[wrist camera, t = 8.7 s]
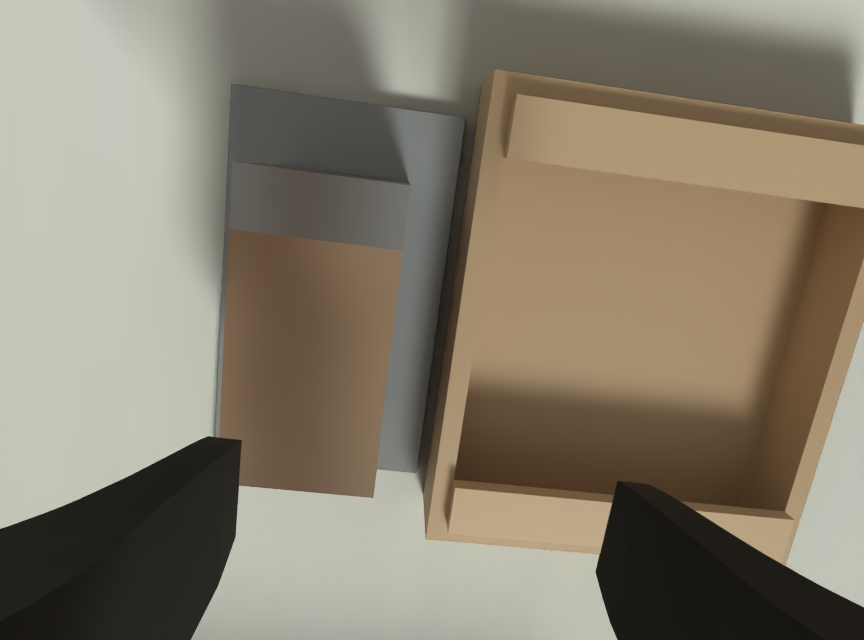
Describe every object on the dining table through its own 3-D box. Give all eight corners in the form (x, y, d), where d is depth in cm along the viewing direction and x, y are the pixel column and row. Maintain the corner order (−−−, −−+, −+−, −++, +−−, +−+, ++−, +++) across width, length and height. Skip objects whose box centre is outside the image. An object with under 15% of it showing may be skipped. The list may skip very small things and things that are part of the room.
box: (408, 181, 18) (410, 185, 13) (380, 419, 20) (373, 497, 15) (278, 164, 18) (232, 161, 13) (262, 406, 20) (216, 483, 15)
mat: (464, 118, 18) (465, 118, 18) (416, 467, 21) (416, 472, 21) (235, 85, 18) (231, 84, 17) (217, 448, 20) (214, 453, 20)
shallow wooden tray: (854, 139, 19) (939, 132, 16) (740, 525, 22) (793, 580, 19) (482, 83, 18) (497, 65, 15) (423, 495, 21) (426, 549, 18)
